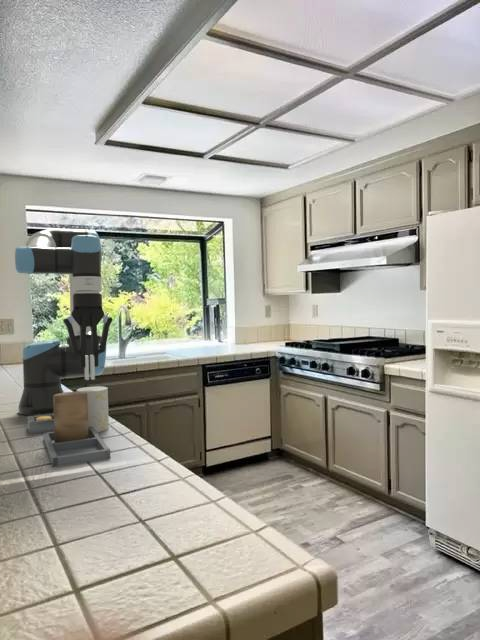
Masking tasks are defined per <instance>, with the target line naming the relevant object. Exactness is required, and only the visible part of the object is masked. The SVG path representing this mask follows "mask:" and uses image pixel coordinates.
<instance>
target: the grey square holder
mask: <svg viewBox="0 0 480 640" xmlns="http://www.w3.org/2000/svg"><path fill="white" fill-rule="evenodd" d="M43 416H51V417H52V419H47V420H38V421H36V418H38V417H43ZM27 430H28V434H29V435H33V434H39V433H40V434H44V433H48V432H54V413H48V414H38V415H28V416H27Z"/></svg>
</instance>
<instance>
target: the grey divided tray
mask: <svg viewBox="0 0 480 640" xmlns="http://www.w3.org/2000/svg"><path fill="white" fill-rule="evenodd" d="M88 434H89V436H90V437H89V438H88V439H81V440H74V441H66V442H59V443H55V442H53V441H52V440H55V439H54V431H51V432H43V442H44V444H45V447H46V451H47V453H48V457H49V459H50V460H49V461H50V462H51V466H52V468H58V467H62V466H68V465H75V464H82V463H87V462H94V461H100V460H101V461H102V460H106V459H107V460H108V459H111V449H110V448H109V446H108V445H107V444H106V443H105V441H104V440H103V439H102V437H101V436H100V435H99V433H98V432H96V431H95V430H94V428H93V427H88Z"/></svg>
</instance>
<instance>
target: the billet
mask: <svg viewBox="0 0 480 640" xmlns="http://www.w3.org/2000/svg"><path fill="white" fill-rule="evenodd" d="M53 405H54V413H53V414H54V431H53V432H54V439H53V440H54V443H59V442H66V441H74V440H81V439H88V438H90V437H89V436H90V435H89V434H88V397H87V393H86V392H77V391H68V392H64V393H59V394H56V395H54V396H53Z"/></svg>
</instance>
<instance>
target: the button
mask: <svg viewBox="0 0 480 640" xmlns="http://www.w3.org/2000/svg"><path fill="white" fill-rule="evenodd" d="M47 419H52V417H51V416H43V417H38V418H36V421H38V420H47Z"/></svg>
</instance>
